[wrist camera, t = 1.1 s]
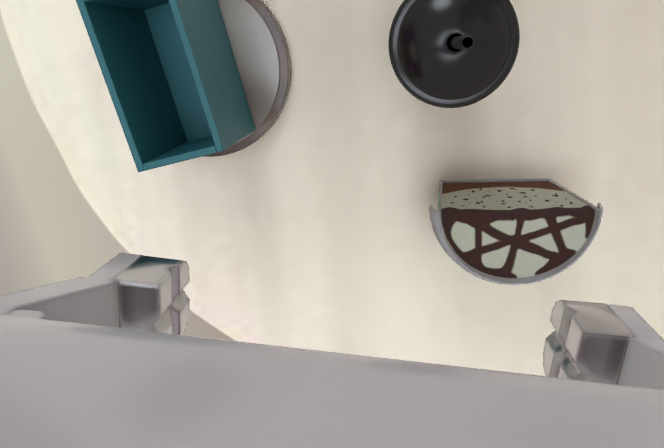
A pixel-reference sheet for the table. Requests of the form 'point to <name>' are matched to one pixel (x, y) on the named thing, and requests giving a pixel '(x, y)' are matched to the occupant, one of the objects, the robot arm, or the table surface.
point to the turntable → (257, 63)
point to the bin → (169, 77)
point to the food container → (513, 227)
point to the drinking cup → (453, 48)
